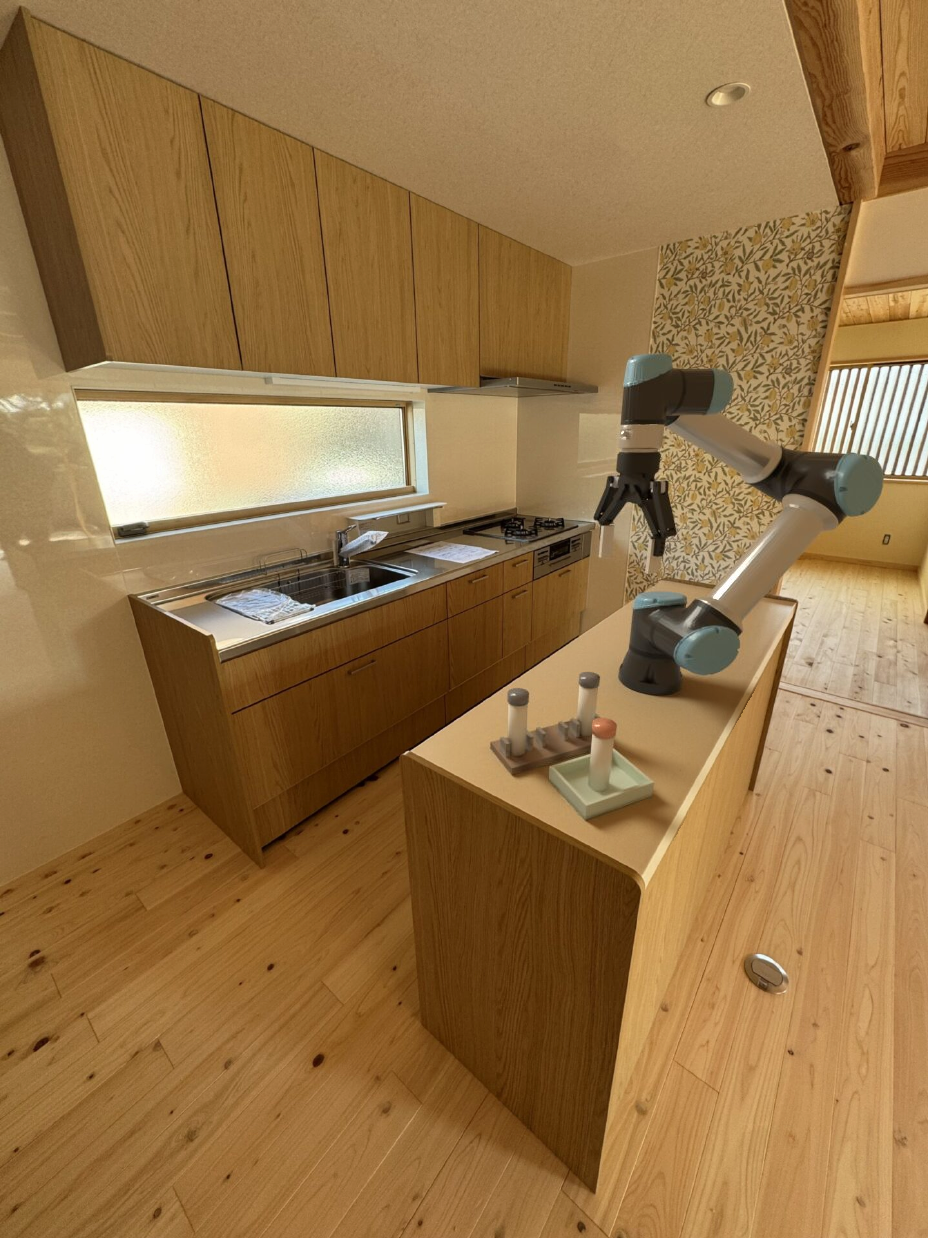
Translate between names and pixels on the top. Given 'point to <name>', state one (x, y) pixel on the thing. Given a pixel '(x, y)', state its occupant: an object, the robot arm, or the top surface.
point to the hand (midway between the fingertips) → (627, 564)
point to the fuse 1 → (517, 720)
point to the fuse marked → (601, 753)
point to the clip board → (544, 746)
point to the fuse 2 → (587, 701)
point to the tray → (588, 803)
